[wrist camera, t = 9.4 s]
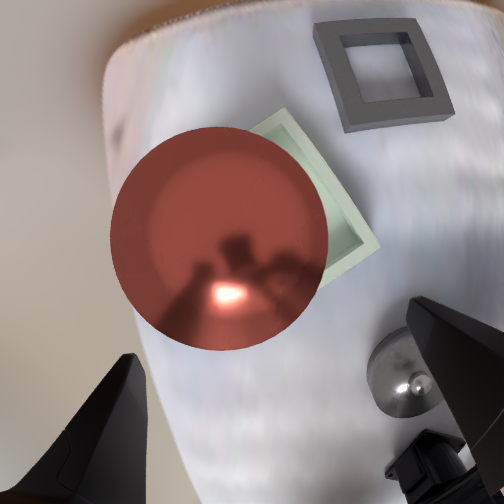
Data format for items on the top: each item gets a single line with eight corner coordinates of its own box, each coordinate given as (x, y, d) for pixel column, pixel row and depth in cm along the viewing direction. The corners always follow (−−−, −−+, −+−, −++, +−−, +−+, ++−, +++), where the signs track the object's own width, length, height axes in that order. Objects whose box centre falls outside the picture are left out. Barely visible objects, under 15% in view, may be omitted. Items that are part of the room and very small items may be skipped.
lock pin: (303, 191, 21) (333, 131, 6) (298, 260, 21) (315, 360, 6) (233, 187, 21) (117, 132, 6) (229, 255, 22) (113, 333, 7)
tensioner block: (443, 120, 19) (455, 114, 17) (344, 133, 20) (349, 125, 19) (408, 30, 19) (415, 18, 17) (312, 36, 20) (314, 23, 18)
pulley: (459, 343, 21) (478, 359, 18) (414, 411, 22) (426, 433, 19) (397, 311, 21) (412, 326, 18) (350, 387, 22) (357, 411, 19)
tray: (371, 243, 21) (380, 246, 19) (246, 324, 23) (241, 337, 20) (285, 118, 21) (284, 106, 18) (164, 204, 23) (150, 203, 20)
